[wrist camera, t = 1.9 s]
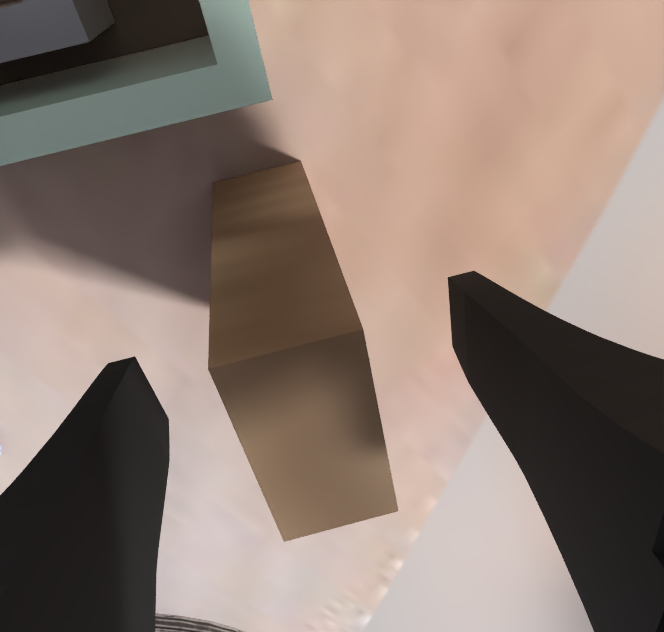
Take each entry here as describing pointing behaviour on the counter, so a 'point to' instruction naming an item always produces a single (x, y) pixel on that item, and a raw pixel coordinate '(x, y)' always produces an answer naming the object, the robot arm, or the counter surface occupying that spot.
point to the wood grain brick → (293, 356)
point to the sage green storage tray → (120, 77)
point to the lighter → (188, 625)
